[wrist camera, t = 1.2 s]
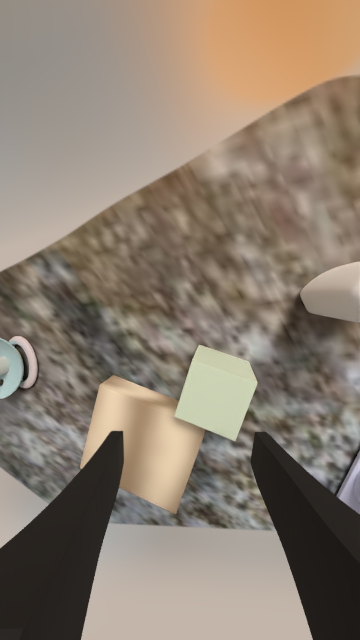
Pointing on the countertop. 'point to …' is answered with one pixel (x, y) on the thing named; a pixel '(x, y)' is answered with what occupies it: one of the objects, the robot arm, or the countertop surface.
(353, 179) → the countertop surface
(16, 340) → the pacifier
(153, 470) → the block
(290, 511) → the robot arm
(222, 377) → the green cube
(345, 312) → the eye dropper bottle
